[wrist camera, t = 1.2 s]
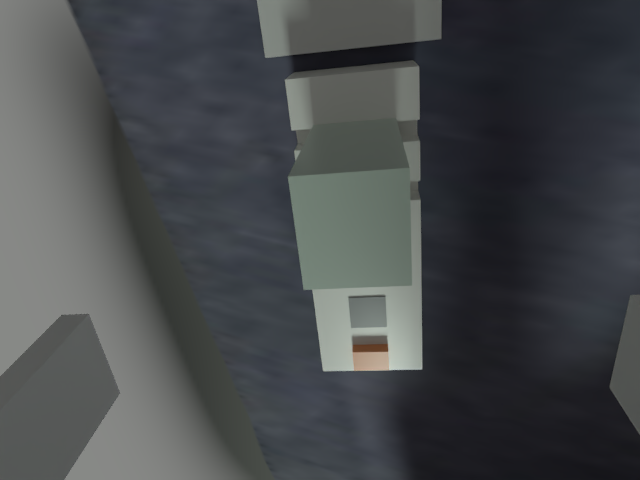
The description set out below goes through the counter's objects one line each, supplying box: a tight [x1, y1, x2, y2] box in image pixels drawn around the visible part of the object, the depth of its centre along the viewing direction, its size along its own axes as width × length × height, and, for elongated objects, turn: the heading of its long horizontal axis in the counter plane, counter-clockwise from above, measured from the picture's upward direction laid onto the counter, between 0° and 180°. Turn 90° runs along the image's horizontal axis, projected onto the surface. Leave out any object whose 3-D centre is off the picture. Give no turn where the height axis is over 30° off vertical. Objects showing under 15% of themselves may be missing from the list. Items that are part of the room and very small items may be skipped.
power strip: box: [285, 60, 422, 371], centre depth 29 cm, size 20×7×4 cm, turn 6°
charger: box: [288, 118, 412, 290], centre depth 23 cm, size 5×4×10 cm
